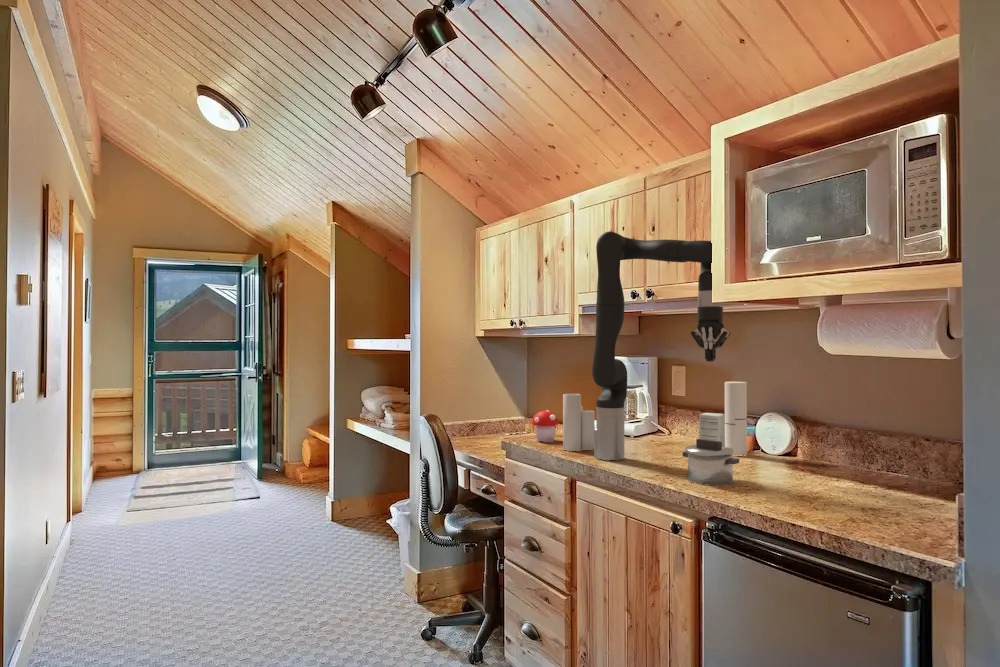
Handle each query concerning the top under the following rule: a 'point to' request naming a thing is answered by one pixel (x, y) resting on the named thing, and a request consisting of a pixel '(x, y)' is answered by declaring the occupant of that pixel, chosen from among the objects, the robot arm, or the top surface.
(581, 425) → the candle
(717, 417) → the supplement box
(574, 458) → the top surface
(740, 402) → the cylindrical container
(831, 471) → the top surface
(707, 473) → the pot
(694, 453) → the lid
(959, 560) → the top surface
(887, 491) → the top surface
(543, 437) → the mushroom
